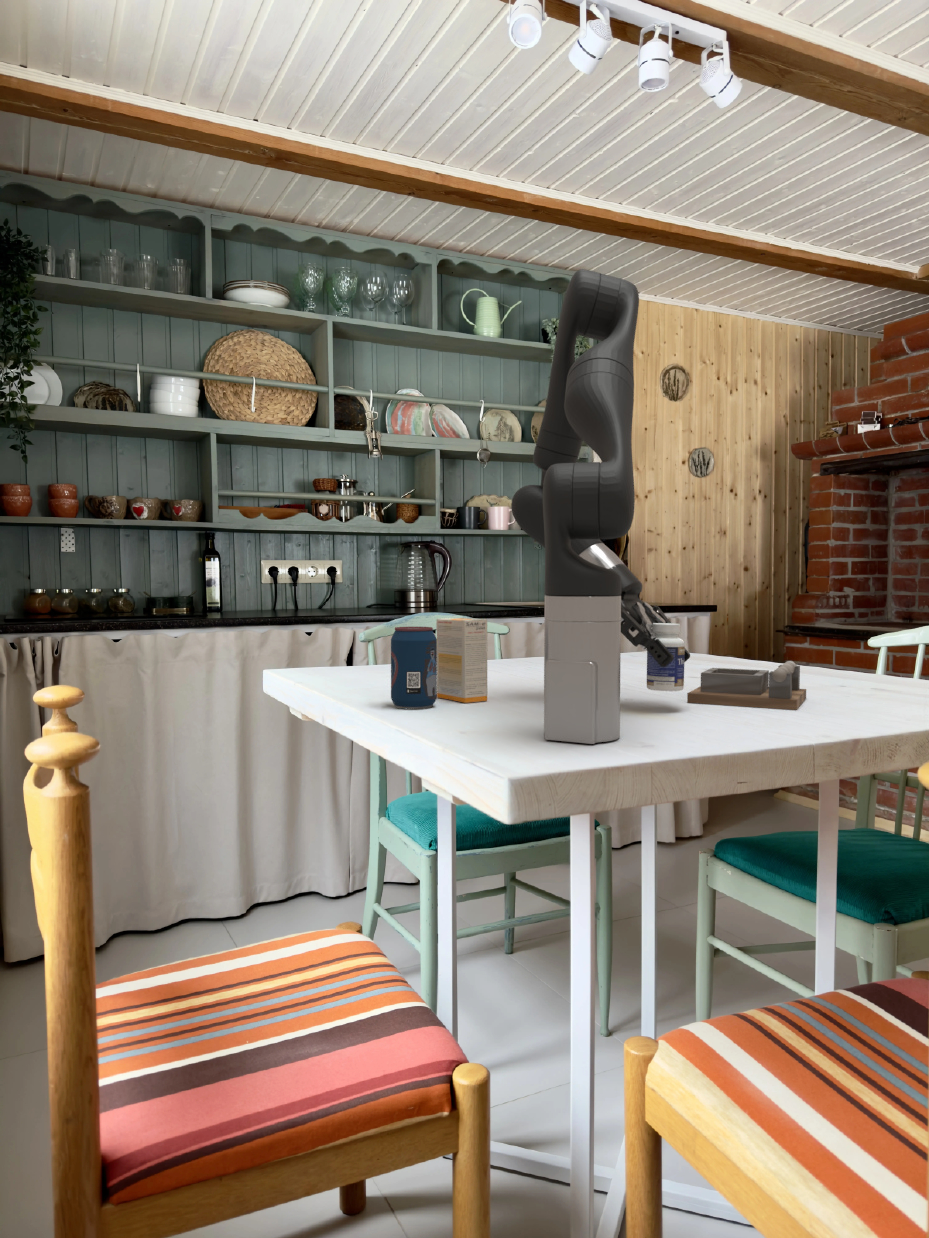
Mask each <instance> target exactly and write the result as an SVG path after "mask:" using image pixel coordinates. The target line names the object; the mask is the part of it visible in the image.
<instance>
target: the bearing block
mask: <svg viewBox="0 0 929 1238" xmlns="http://www.w3.org/2000/svg"><path fill="white" fill-rule="evenodd" d="M800 679H801V665H797V664H796V663H795V662H794V661H793V660H787V661H786V662H783V664H780V665H778V667H777V668H776V669H774V670H771V671H769V670H768V669H767V670H765V669H749V668H748V669H747V668H745V669H742V668H723V667H711V668H709V669H706V670H703V672H700V686H699V687H697V688H695V689H693V690H691V691H689V692H687V694H686V695H687V696H686V697H687V700H686V703H687V704H699V705H701V704H702V705H703V704H704V705H715V706H730V707H732V706H733V707H743V708H744V707H747V708H758V709H759V708H761V709H776V710H789V711H798V709H799V708H800V707H801V706H802V704H803V703H804V702H805V701H806V699H807V689H806V688H800V685H801V684H800Z"/></svg>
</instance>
